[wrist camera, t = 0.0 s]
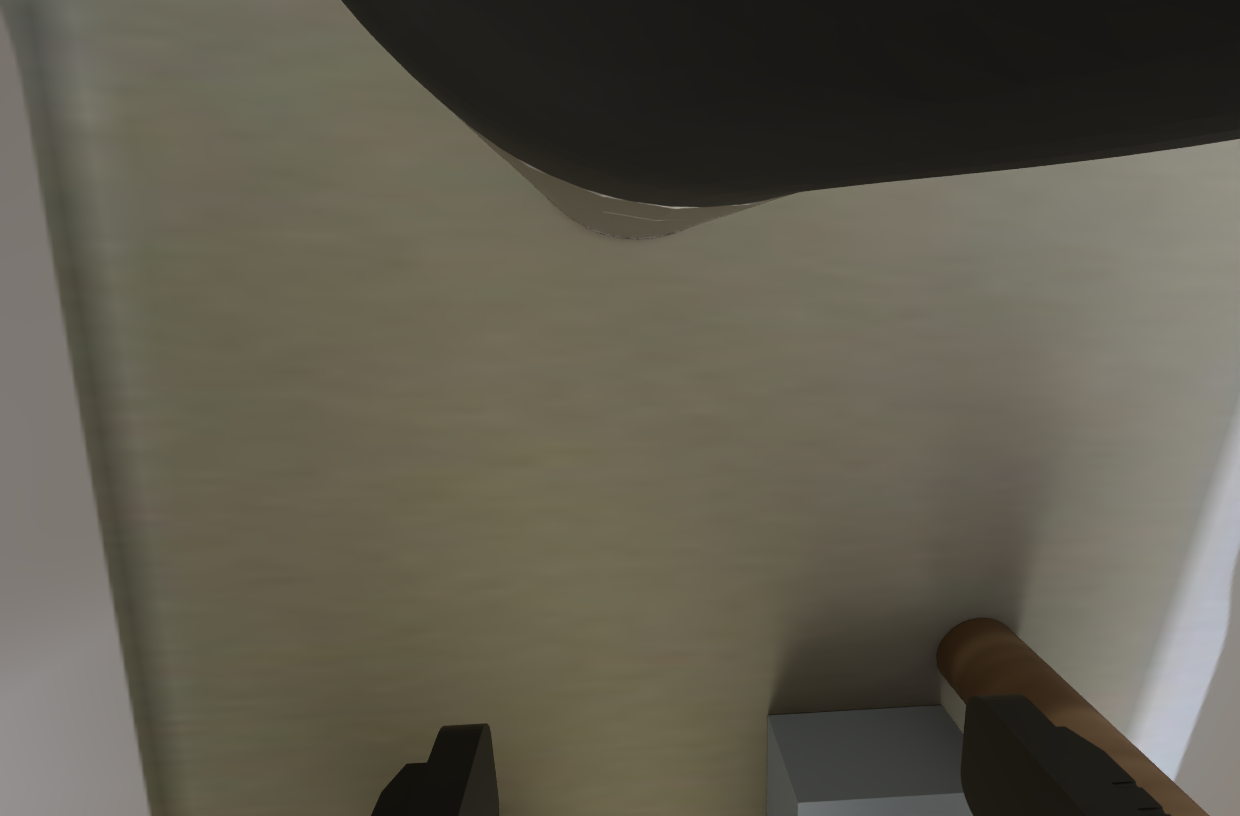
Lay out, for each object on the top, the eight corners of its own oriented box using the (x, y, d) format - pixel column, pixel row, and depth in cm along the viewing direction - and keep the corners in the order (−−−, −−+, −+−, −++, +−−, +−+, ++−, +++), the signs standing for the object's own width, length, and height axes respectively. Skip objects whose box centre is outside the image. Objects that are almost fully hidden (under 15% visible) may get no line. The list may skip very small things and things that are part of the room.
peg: (940, 620, 29) (1159, 863, 18) (1020, 615, 29) (1292, 854, 18) (933, 689, 30) (1136, 960, 19) (1011, 684, 30) (1262, 953, 19)
